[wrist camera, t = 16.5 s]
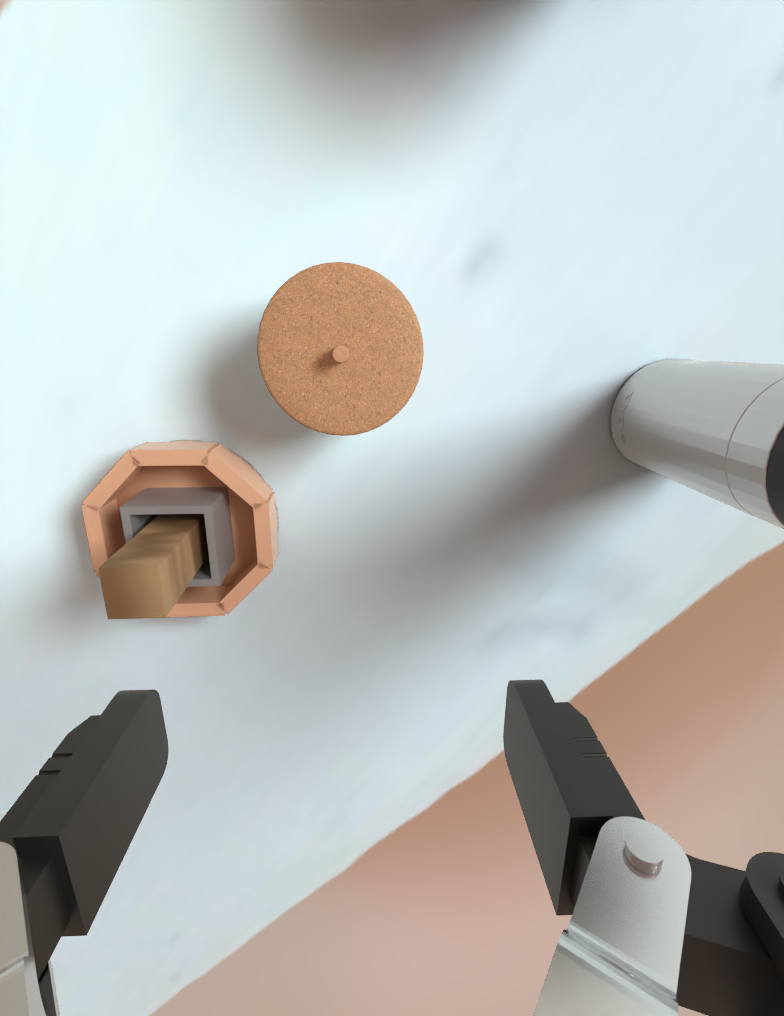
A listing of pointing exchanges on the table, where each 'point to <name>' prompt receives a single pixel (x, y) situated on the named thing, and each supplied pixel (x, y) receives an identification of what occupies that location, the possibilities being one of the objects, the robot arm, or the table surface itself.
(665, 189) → the table surface
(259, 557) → the candle pot
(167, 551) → the brown long rectangular block
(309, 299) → the lidded jar
